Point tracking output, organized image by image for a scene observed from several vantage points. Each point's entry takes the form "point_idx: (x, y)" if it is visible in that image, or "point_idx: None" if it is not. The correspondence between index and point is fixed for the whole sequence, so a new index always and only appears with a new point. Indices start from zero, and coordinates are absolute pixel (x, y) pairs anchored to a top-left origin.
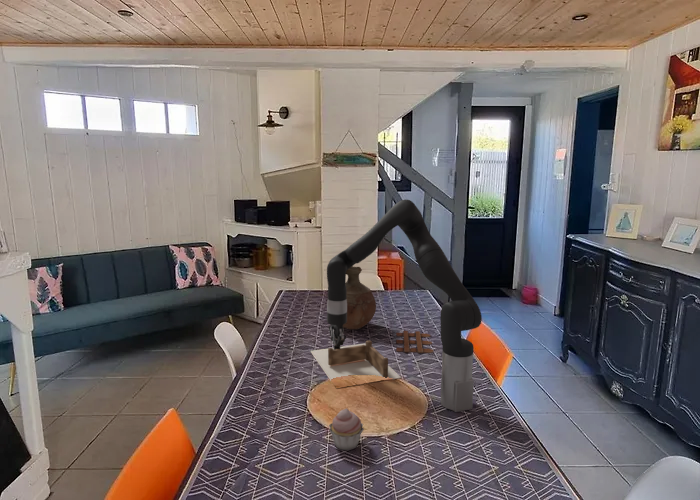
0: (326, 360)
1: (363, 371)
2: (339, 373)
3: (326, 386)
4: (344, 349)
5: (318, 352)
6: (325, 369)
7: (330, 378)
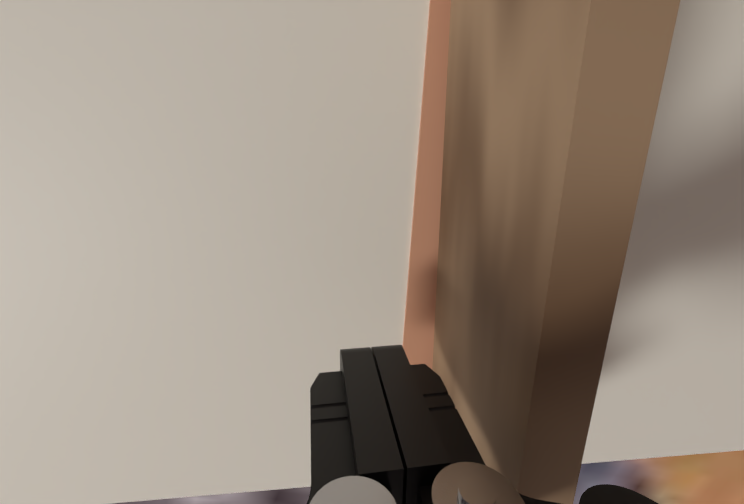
0: (284, 411)
1: (731, 124)
2: (621, 367)
3: (724, 489)
4: (595, 383)
5: (5, 446)
6: None
7: (654, 451)
